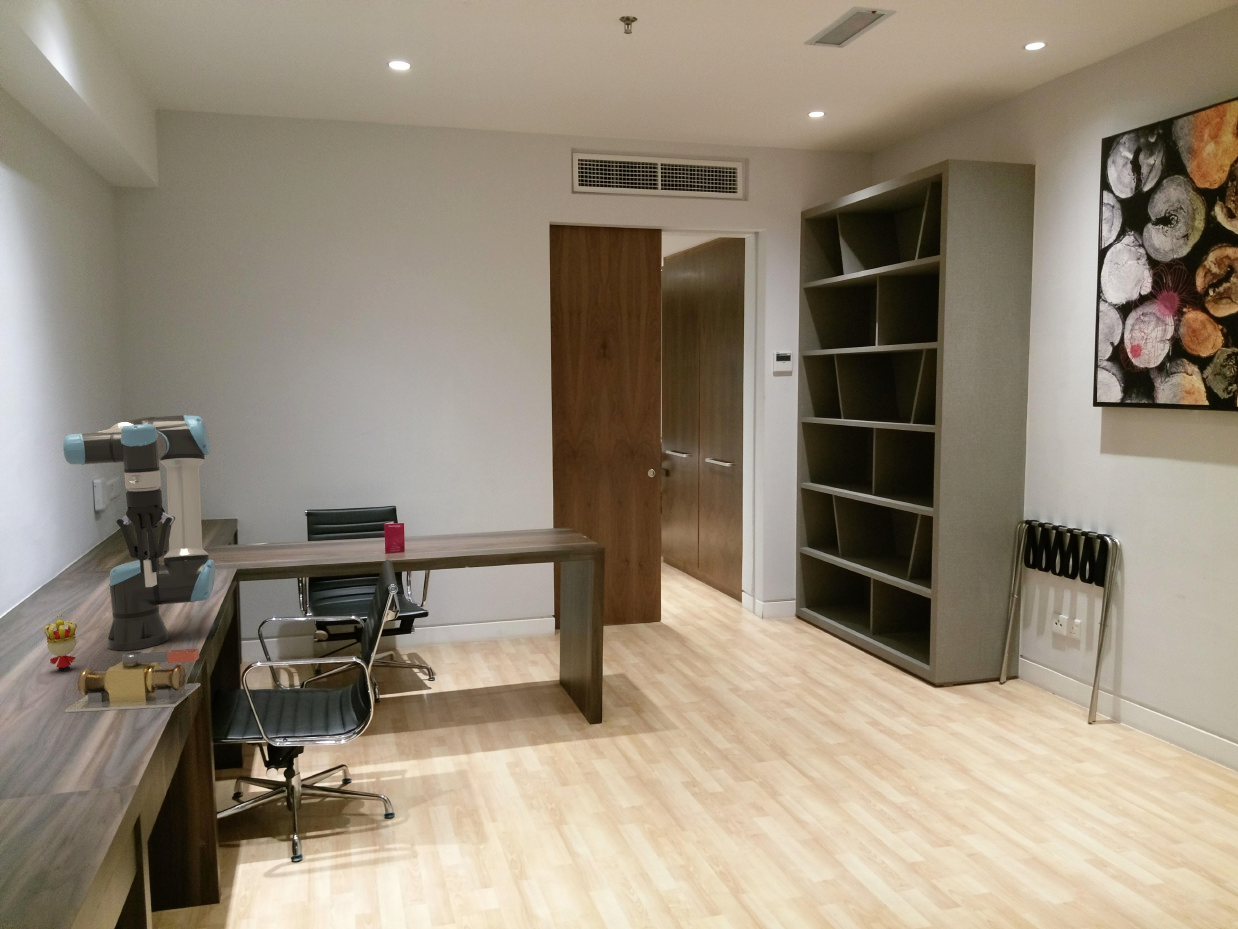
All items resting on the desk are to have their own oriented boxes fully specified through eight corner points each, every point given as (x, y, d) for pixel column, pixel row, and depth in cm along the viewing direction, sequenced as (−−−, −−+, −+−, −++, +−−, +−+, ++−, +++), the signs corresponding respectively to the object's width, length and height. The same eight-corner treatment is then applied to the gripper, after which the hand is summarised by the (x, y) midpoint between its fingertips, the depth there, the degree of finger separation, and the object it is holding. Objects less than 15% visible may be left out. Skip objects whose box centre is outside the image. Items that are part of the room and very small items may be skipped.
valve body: (65, 712, 197) (62, 677, 197) (97, 690, 211) (95, 658, 211) (175, 706, 199) (172, 672, 198) (200, 685, 213) (197, 653, 212)
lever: (119, 667, 202) (118, 657, 202) (127, 661, 206) (126, 651, 206) (193, 663, 204) (192, 653, 203) (200, 657, 208) (199, 647, 207)
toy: (85, 665, 231) (80, 609, 230) (73, 674, 224) (68, 616, 223) (55, 667, 230) (50, 611, 229) (42, 676, 223) (37, 618, 222)
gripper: (107, 492, 206) (115, 590, 209) (164, 490, 207) (172, 588, 209) (123, 488, 214) (131, 583, 216) (178, 486, 215) (185, 581, 217)
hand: (151, 585), depth 213 cm, fingers closed
